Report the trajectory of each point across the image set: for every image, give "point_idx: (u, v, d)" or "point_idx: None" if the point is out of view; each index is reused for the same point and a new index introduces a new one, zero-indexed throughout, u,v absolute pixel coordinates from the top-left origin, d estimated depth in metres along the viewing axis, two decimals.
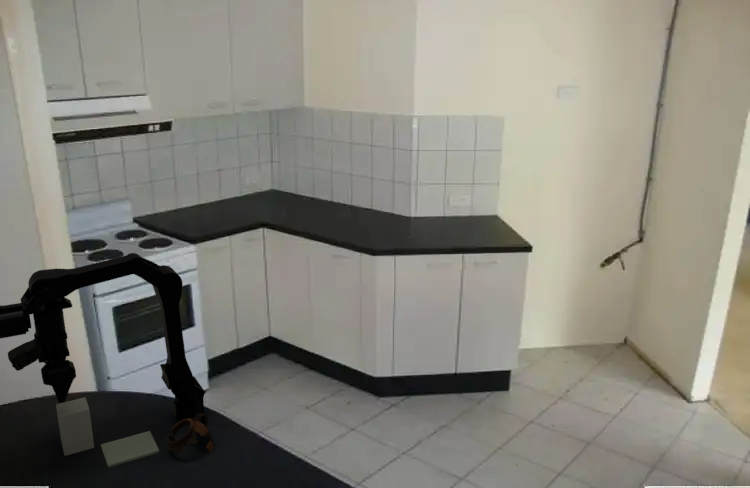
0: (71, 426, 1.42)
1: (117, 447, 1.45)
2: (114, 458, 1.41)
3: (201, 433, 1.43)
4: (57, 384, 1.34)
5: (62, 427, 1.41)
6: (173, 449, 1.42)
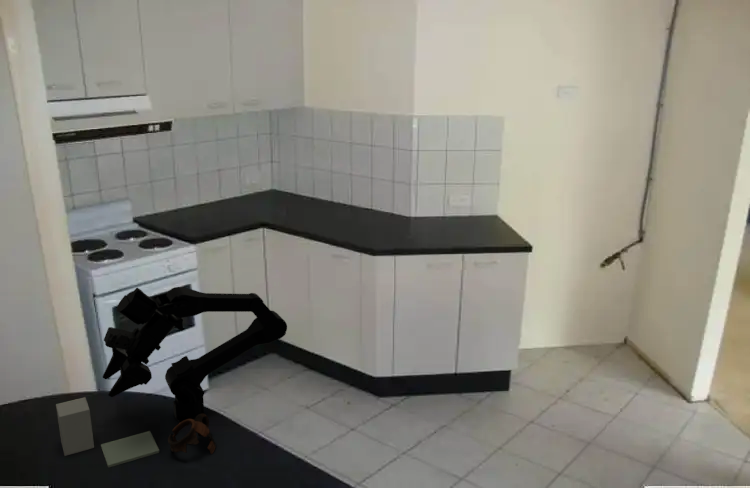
0: (71, 426, 1.42)
1: (117, 447, 1.45)
2: (114, 458, 1.41)
3: (203, 433, 1.43)
4: (124, 379, 1.42)
5: (62, 427, 1.41)
6: (175, 450, 1.41)
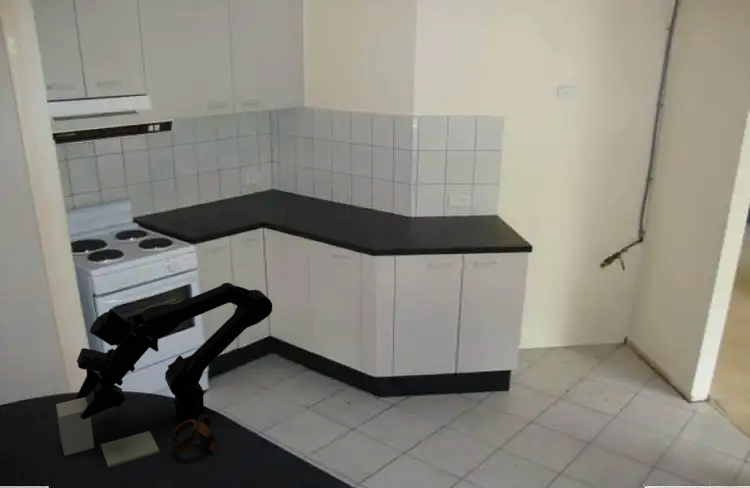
0: (71, 426, 1.42)
1: (117, 447, 1.45)
2: (114, 458, 1.41)
3: (204, 434, 1.43)
4: (97, 401, 1.41)
5: (62, 427, 1.41)
6: (176, 450, 1.41)
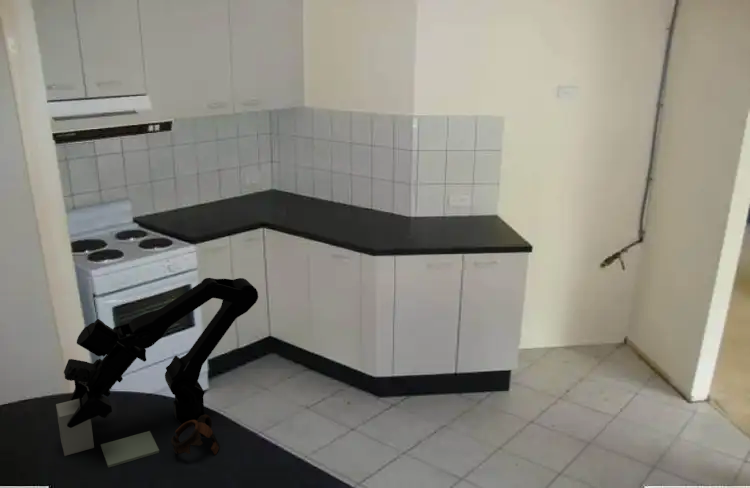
0: None
1: (117, 447, 1.45)
2: (114, 458, 1.41)
3: (206, 434, 1.43)
4: (83, 410, 1.41)
5: (62, 427, 1.41)
6: (178, 451, 1.41)
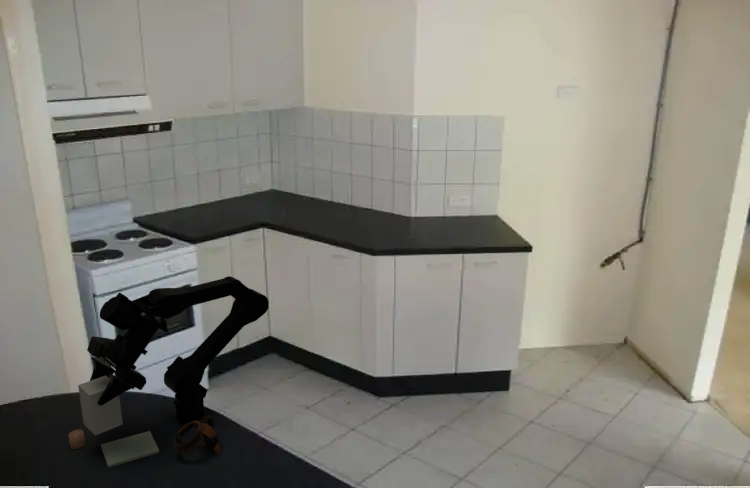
0: None
1: (117, 447, 1.45)
2: (114, 458, 1.41)
3: (209, 435, 1.42)
4: (114, 385, 1.38)
5: (92, 406, 1.37)
6: (181, 452, 1.41)
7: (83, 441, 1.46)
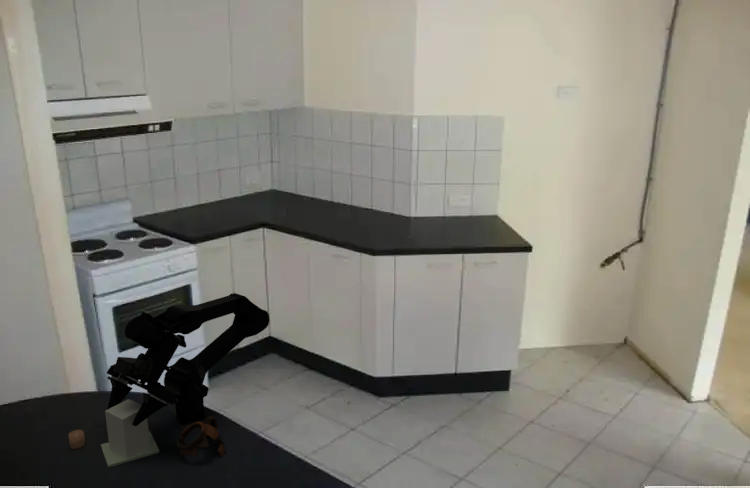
0: (132, 427, 1.41)
1: None
2: (114, 458, 1.41)
3: (212, 436, 1.42)
4: (148, 405, 1.40)
5: (125, 429, 1.39)
6: (184, 453, 1.40)
7: (83, 441, 1.46)
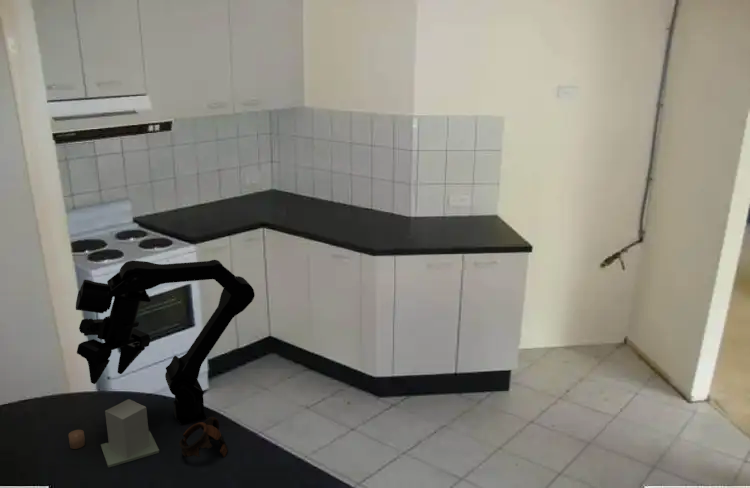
0: (132, 427, 1.41)
1: None
2: (114, 458, 1.41)
3: (215, 437, 1.42)
4: (93, 363, 1.41)
5: (125, 429, 1.39)
6: (187, 454, 1.40)
7: (83, 441, 1.46)
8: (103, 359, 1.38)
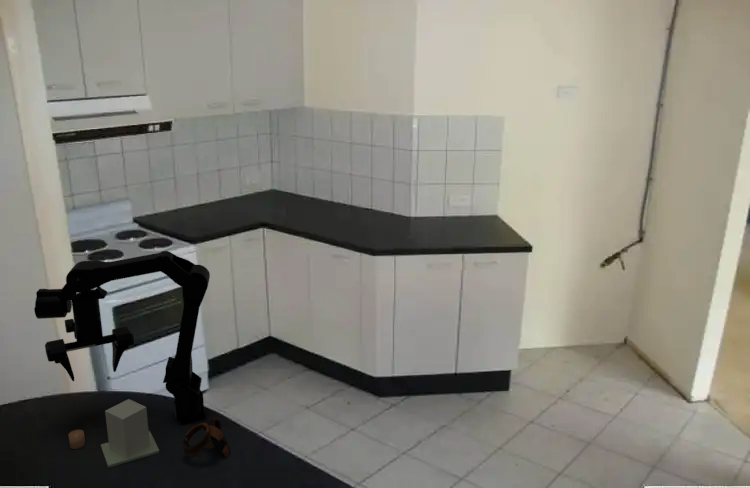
0: (132, 427, 1.41)
1: None
2: (114, 458, 1.41)
3: (217, 437, 1.42)
4: None
5: (125, 429, 1.39)
6: (189, 455, 1.40)
7: (83, 441, 1.46)
8: (56, 358, 1.43)
